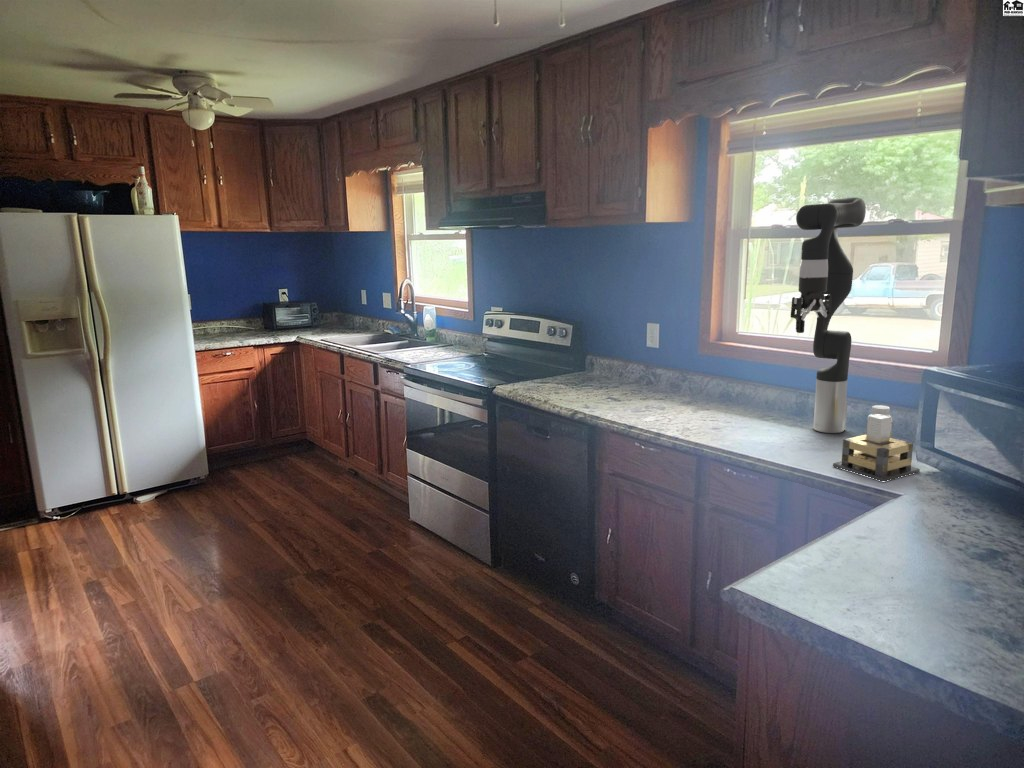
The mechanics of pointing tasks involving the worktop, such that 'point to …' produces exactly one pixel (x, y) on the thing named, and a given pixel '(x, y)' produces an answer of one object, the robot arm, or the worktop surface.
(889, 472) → the collar stand
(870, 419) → the tall white block
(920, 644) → the worktop surface
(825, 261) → the robot arm
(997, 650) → the worktop surface
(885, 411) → the supplement bottle
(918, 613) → the worktop surface
